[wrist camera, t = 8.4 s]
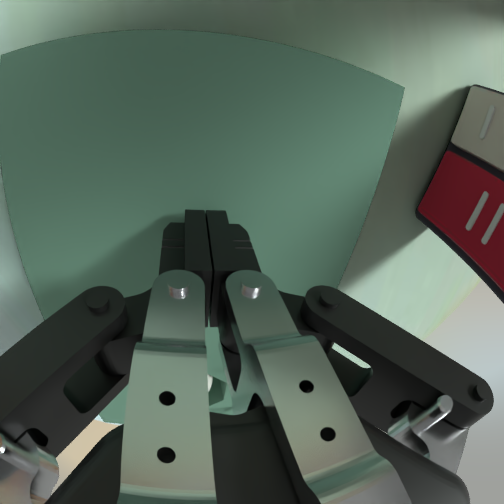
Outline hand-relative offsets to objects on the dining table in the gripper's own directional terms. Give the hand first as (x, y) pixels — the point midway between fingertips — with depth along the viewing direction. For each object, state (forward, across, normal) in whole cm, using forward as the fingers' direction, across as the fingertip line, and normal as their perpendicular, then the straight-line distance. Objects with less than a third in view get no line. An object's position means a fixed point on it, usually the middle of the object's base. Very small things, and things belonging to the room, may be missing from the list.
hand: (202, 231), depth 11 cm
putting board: (+3, +1, +7) cm, 8 cm away
